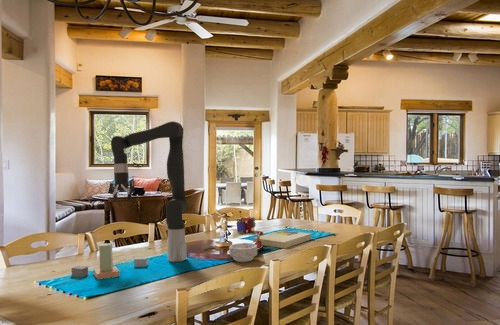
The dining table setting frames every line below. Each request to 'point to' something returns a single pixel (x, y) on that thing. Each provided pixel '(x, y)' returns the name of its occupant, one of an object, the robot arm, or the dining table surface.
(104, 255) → the sage tower brick
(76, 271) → the grey rectangular block
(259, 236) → the toy fire truck
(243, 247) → the paper bowls
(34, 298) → the dining table surface
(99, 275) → the terracotta base brick
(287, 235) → the puzzle box
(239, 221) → the robot toy
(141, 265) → the light gray block
